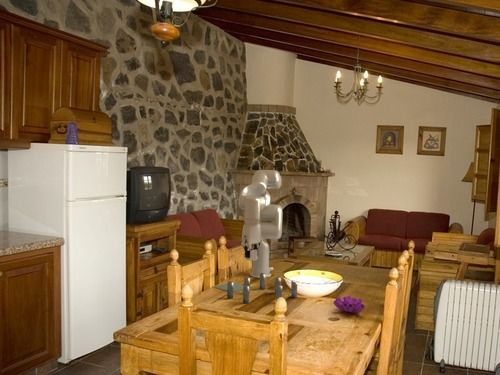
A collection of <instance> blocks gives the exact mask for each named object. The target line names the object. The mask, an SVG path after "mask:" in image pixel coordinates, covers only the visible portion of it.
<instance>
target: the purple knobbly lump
mask: <svg viewBox="0 0 500 375" xmlns="http://www.w3.org/2000/svg"><path fill="white" fill-rule="evenodd" d="M333 306H335V307H336V308H338V309H339V310H340V311H343V312H346V313H352V314H354V313H360V312H362V311H363V310H364V309H365V308H366V307H365V305H364V303H363V299H362V298H360V297H359V298H356V297H352V295H347V296H343V298H341V296H338V297H336V298H335V300H333Z"/></svg>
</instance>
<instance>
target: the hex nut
mask: <svg viewBox="0 0 500 375" xmlns="http://www.w3.org/2000/svg"><path fill="white" fill-rule="evenodd" d="M257 251H258V249H253V247H252V248H251V247H250V258H245V261H250V262H251V261H252V262H253V261H254V260H257Z"/></svg>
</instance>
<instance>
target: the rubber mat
mask: <svg viewBox="0 0 500 375" xmlns="http://www.w3.org/2000/svg"><path fill="white" fill-rule="evenodd" d="M243 286H244V284H240V283H236V282H234V287H233V294H234V293H238V292H241V291H243ZM213 288H214V289H218V290H221V291H225V292H227V282H226V283H223V284H219V285H214V286H213ZM250 289H251V286H250Z"/></svg>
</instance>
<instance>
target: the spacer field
mask: <svg viewBox="0 0 500 375" xmlns="http://www.w3.org/2000/svg"><path fill="white" fill-rule="evenodd" d="M281 279H282V277H280V276H275V277H274V293H275V300H276V299H277V298H279V297H282V298H283V285H282V283H281V282H282V280H281ZM293 281H294V280H291V282H290V284H291V285H290V286H291V287H290V298H291V299H297V298H298V283H297V284H296V282H293ZM226 283H227V291H226V292H227V294H226V298H227V299H230V300H233V299H234V293H233V287H234V283H235V282H234V281H232V280H230V281H227V282H226ZM258 283H259V286H258V289H259V290H260V291H261V290H262V291H263V290H266V278H265V274H264V273H260V278H259V282H258ZM243 285H244V286H243V290H242V304H245V305H246V304H247V305H248V304H250V292H251V290H250V289H251V288H250V287H251V277H249V276H245V277H244V279H243Z"/></svg>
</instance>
